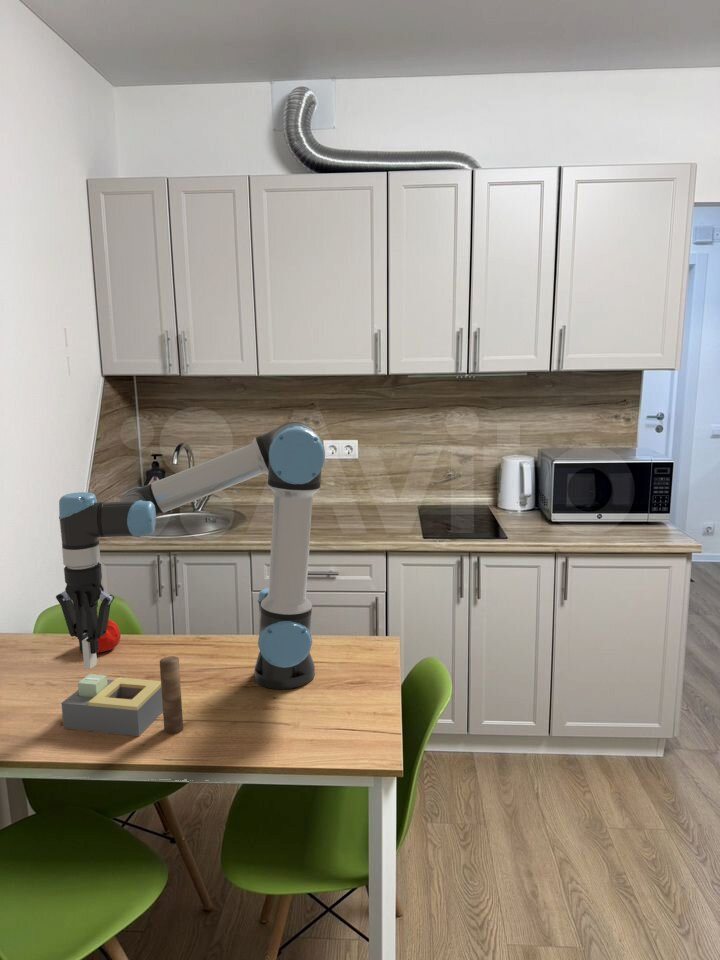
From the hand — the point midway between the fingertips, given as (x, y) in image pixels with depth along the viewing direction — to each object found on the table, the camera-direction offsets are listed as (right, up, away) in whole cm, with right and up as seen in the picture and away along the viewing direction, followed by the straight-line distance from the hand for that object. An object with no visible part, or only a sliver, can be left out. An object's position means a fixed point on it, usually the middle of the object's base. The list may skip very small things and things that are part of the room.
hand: (90, 666), depth 158 cm
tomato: (-12, -6, +39) cm, 41 cm away
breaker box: (+5, -12, +1) cm, 13 cm away
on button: (0, -7, +1) cm, 7 cm away
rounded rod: (+19, -13, -4) cm, 24 cm away
